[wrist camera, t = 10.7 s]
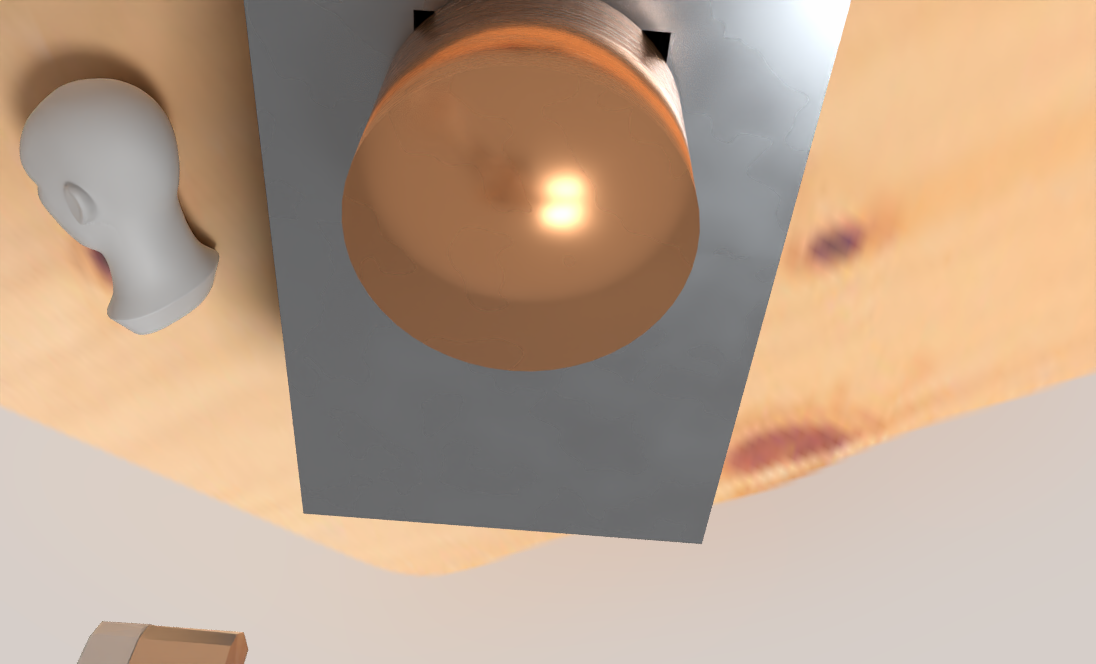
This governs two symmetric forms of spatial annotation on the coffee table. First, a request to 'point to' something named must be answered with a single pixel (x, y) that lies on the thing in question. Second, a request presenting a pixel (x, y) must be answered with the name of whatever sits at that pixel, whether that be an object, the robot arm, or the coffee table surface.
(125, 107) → the mannequin head
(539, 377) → the block
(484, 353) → the pin
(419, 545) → the coffee table surface
